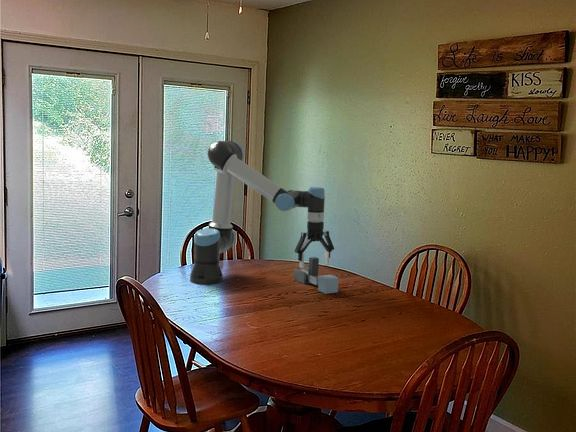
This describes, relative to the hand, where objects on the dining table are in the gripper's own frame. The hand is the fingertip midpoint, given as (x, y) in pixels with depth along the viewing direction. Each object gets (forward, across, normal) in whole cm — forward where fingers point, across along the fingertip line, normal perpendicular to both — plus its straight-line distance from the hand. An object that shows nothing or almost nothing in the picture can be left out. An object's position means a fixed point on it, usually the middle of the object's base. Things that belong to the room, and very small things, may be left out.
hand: (314, 266), depth 273 cm
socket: (+9, 0, -12) cm, 15 cm away
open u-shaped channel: (+8, 0, +7) cm, 11 cm away
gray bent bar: (+7, 0, +3) cm, 8 cm away
